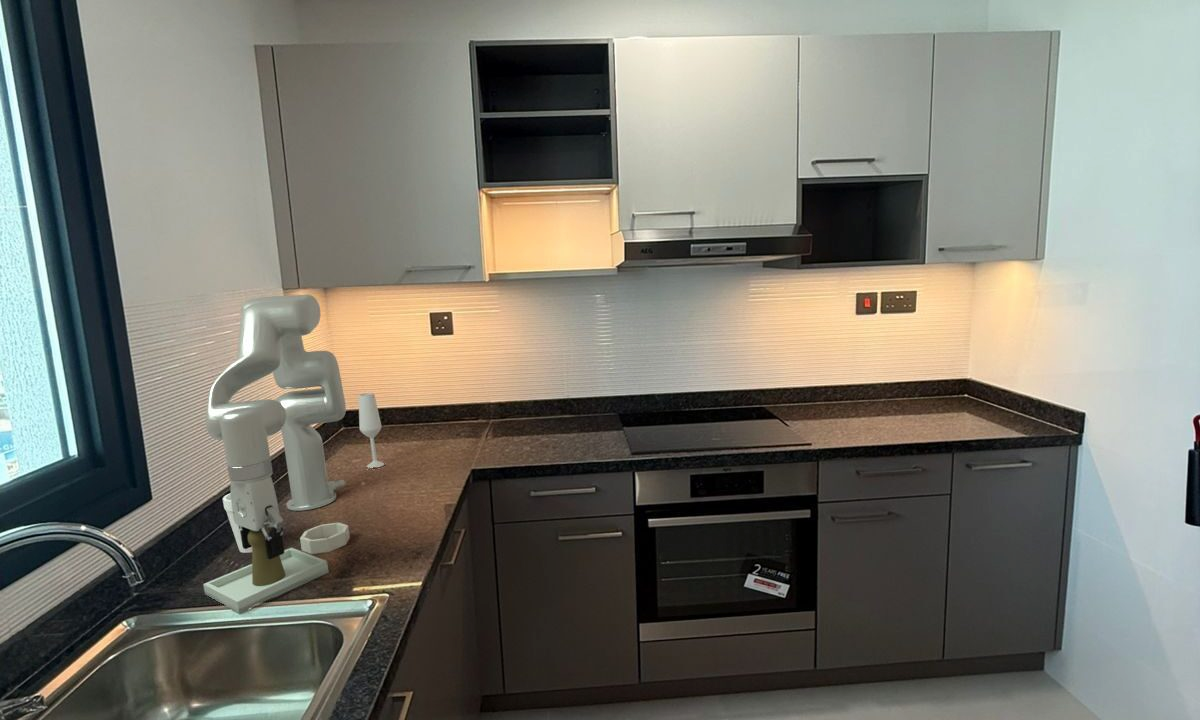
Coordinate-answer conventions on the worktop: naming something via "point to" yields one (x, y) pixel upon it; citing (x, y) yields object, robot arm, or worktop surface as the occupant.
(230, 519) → the foam cup
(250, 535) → the cork
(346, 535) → the collar
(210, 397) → the robot arm
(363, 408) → the champagne flute
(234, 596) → the tray
